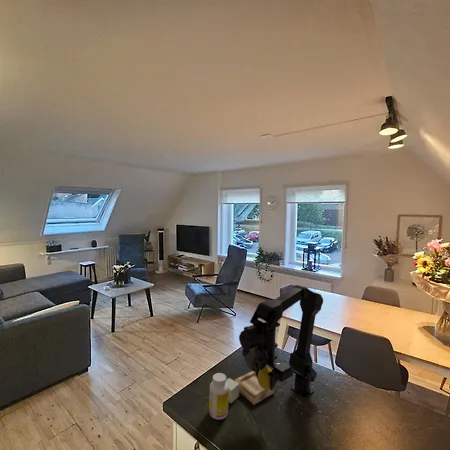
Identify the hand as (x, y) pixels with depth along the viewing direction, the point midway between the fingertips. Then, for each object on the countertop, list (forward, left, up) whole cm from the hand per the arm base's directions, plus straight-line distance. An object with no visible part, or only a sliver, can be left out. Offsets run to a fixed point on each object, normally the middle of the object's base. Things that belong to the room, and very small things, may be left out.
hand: (265, 384), depth 87 cm
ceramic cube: (+4, -14, -11) cm, 18 cm away
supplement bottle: (+12, -10, -11) cm, 19 cm away
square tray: (-6, -11, -11) cm, 16 cm away
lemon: (0, 0, -2) cm, 2 cm away
